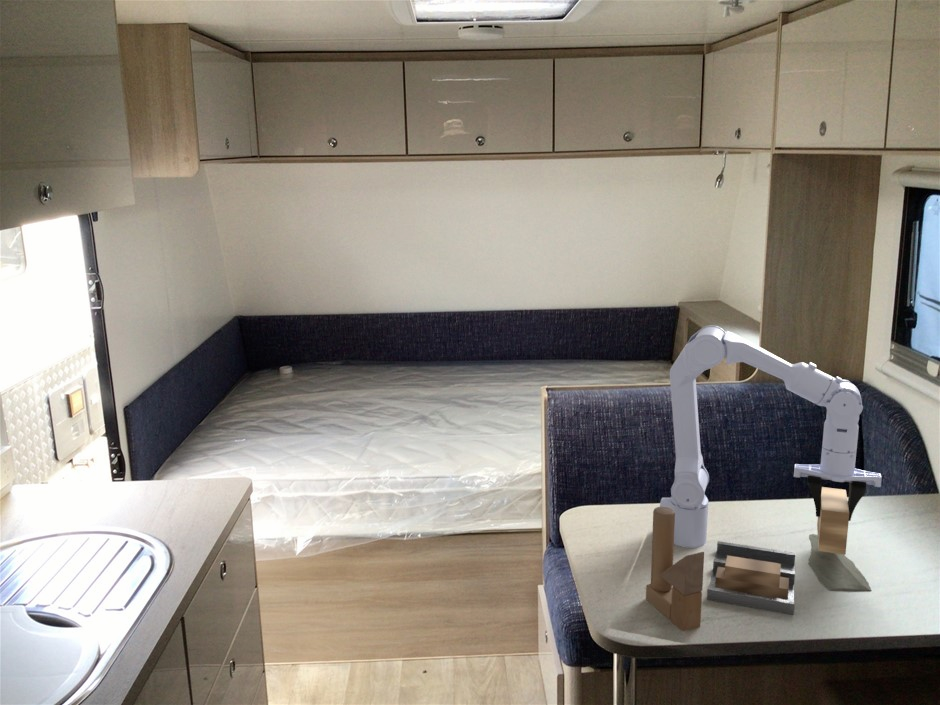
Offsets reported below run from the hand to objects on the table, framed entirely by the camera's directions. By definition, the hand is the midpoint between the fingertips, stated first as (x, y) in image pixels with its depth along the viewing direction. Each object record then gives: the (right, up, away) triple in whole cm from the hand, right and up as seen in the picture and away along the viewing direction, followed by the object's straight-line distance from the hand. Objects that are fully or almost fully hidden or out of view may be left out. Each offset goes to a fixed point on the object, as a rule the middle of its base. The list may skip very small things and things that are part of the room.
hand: (832, 516), depth 148 cm
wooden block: (-34, -14, -14) cm, 39 cm away
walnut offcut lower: (-18, -11, -8) cm, 23 cm away
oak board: (0, -5, +2) cm, 5 cm away
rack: (-17, -11, -4) cm, 21 cm away
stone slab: (0, -10, +3) cm, 11 cm away
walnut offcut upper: (-18, -9, -8) cm, 22 cm away
